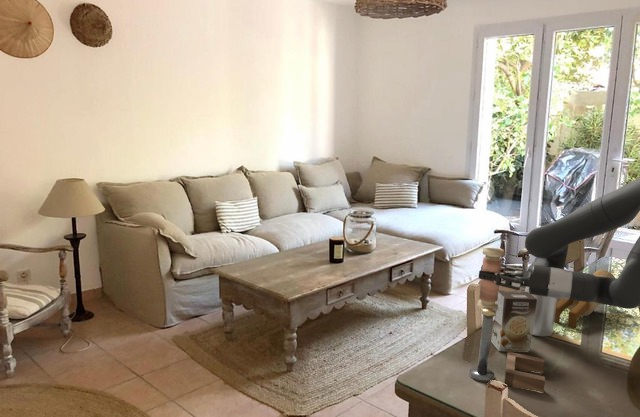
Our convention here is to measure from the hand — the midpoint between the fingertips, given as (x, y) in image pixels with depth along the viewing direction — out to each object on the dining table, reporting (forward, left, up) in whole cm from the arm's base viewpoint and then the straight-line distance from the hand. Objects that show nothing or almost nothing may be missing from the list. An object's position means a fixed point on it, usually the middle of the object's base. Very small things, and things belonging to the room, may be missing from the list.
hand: (480, 271), depth 135 cm
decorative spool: (-50, +31, -25) cm, 64 cm away
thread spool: (0, +3, -10) cm, 10 cm away
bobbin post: (+9, +3, -25) cm, 27 cm away
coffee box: (-12, +9, -25) cm, 29 cm away
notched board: (+5, +13, -25) cm, 29 cm away
